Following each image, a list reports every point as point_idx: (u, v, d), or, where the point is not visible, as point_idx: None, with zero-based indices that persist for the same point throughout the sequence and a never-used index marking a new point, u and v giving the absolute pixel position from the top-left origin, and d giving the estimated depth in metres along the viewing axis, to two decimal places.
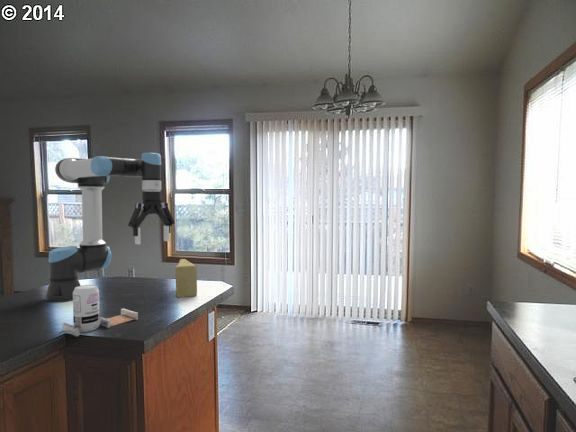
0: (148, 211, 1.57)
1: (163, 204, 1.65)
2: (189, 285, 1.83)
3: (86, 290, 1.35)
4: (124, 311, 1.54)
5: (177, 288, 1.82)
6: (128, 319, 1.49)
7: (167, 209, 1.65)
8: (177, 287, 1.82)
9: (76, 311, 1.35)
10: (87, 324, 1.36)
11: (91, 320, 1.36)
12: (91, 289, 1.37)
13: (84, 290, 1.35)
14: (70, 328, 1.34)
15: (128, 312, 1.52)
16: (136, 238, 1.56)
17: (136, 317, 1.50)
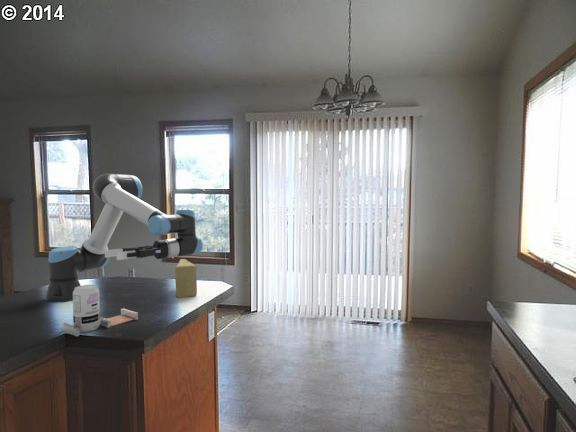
0: None
1: None
2: (189, 285, 1.83)
3: (86, 290, 1.35)
4: (124, 311, 1.54)
5: (177, 288, 1.82)
6: (128, 319, 1.49)
7: None
8: (177, 287, 1.82)
9: (76, 311, 1.35)
10: (87, 324, 1.36)
11: (91, 320, 1.36)
12: (91, 289, 1.37)
13: (84, 290, 1.35)
14: (70, 328, 1.34)
15: (128, 312, 1.52)
16: (123, 254, 1.41)
17: (136, 317, 1.50)
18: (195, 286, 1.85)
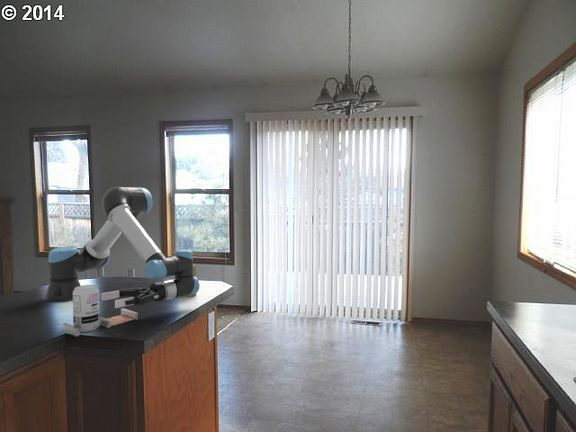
0: None
1: None
2: None
3: (86, 290, 1.35)
4: (124, 311, 1.54)
5: None
6: (128, 319, 1.49)
7: None
8: None
9: (76, 311, 1.35)
10: (87, 324, 1.36)
11: (91, 320, 1.36)
12: (91, 289, 1.37)
13: (84, 290, 1.35)
14: (70, 328, 1.34)
15: (128, 312, 1.52)
16: (122, 302, 1.40)
17: (136, 317, 1.50)
18: None
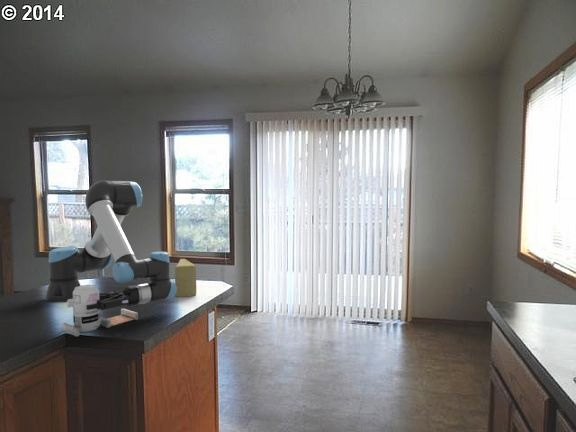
0: None
1: None
2: (188, 285, 1.84)
3: (86, 290, 1.35)
4: (124, 311, 1.54)
5: (176, 288, 1.83)
6: (128, 319, 1.49)
7: None
8: (176, 287, 1.82)
9: None
10: (87, 324, 1.36)
11: (91, 320, 1.36)
12: (91, 289, 1.37)
13: (84, 290, 1.35)
14: (70, 328, 1.34)
15: (128, 312, 1.52)
16: (83, 307, 1.34)
17: (136, 317, 1.50)
18: (195, 286, 1.85)
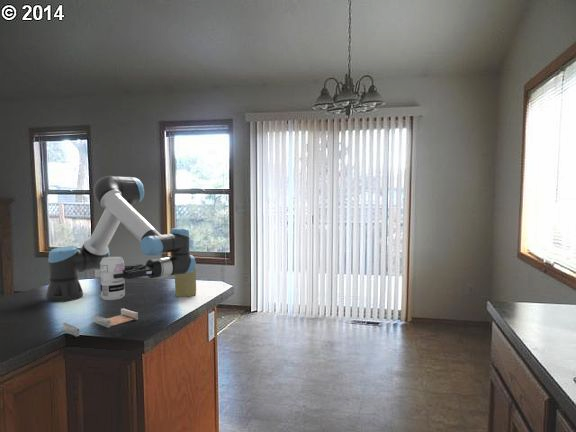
0: None
1: None
2: (188, 285, 1.84)
3: (113, 260, 1.43)
4: (124, 311, 1.54)
5: (176, 287, 1.83)
6: (128, 319, 1.49)
7: None
8: (176, 286, 1.83)
9: None
10: (113, 292, 1.43)
11: (118, 289, 1.44)
12: (117, 259, 1.44)
13: (111, 260, 1.43)
14: (70, 328, 1.34)
15: (128, 312, 1.52)
16: (110, 275, 1.41)
17: (136, 317, 1.50)
18: (194, 286, 1.85)
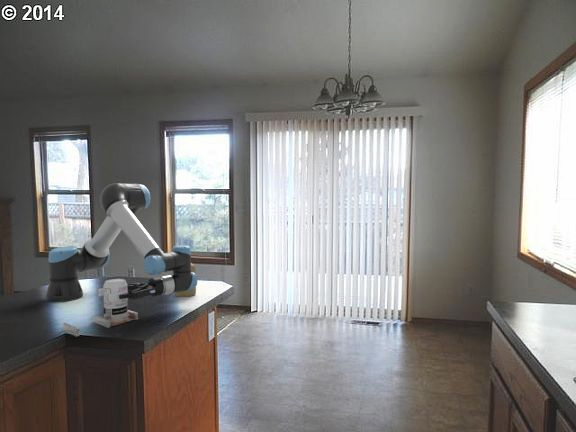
0: None
1: None
2: None
3: (116, 283, 1.44)
4: None
5: None
6: (128, 319, 1.49)
7: None
8: None
9: (107, 303, 1.44)
10: (117, 315, 1.44)
11: (121, 312, 1.45)
12: (120, 282, 1.45)
13: (114, 283, 1.44)
14: (70, 328, 1.34)
15: (128, 312, 1.52)
16: (116, 296, 1.42)
17: (136, 317, 1.50)
18: None
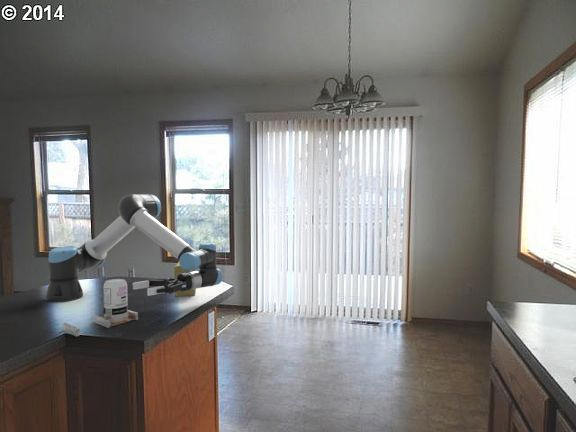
0: None
1: None
2: None
3: (116, 283, 1.44)
4: None
5: None
6: (128, 319, 1.49)
7: None
8: None
9: (107, 303, 1.44)
10: (117, 315, 1.44)
11: (121, 312, 1.45)
12: (120, 282, 1.45)
13: (114, 283, 1.44)
14: (70, 328, 1.34)
15: (128, 312, 1.52)
16: (153, 290, 1.50)
17: (136, 317, 1.50)
18: None
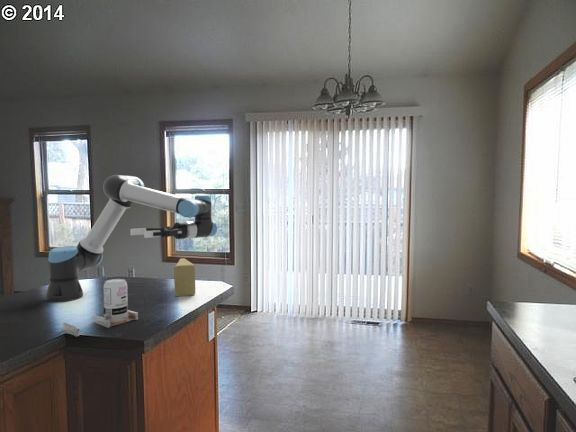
0: None
1: None
2: (187, 284, 1.85)
3: (116, 283, 1.44)
4: None
5: (175, 287, 1.84)
6: (128, 319, 1.49)
7: None
8: (175, 286, 1.84)
9: (107, 303, 1.44)
10: (117, 315, 1.44)
11: (121, 312, 1.45)
12: (120, 282, 1.45)
13: (114, 283, 1.44)
14: (70, 328, 1.34)
15: (128, 312, 1.52)
16: (150, 233, 1.56)
17: (136, 317, 1.50)
18: (194, 285, 1.86)
